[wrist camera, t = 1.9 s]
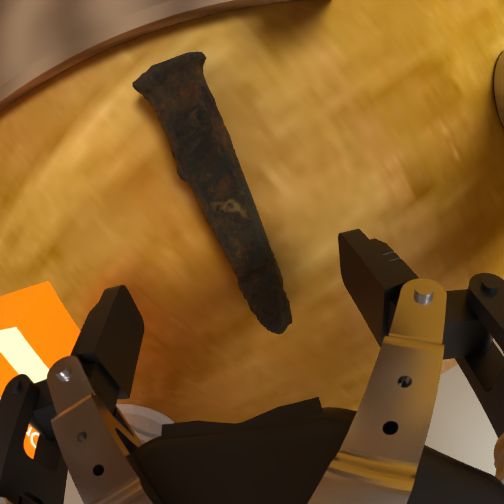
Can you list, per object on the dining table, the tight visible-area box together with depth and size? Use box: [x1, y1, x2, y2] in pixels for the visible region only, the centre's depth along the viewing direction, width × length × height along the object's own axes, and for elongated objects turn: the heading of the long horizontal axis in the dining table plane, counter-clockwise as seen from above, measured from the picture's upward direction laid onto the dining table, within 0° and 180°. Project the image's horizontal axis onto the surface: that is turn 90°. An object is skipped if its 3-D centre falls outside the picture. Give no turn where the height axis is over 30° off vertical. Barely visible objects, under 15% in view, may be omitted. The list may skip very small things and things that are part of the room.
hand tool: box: [133, 52, 292, 334], centre depth 18 cm, size 19×4×5 cm, turn 18°
